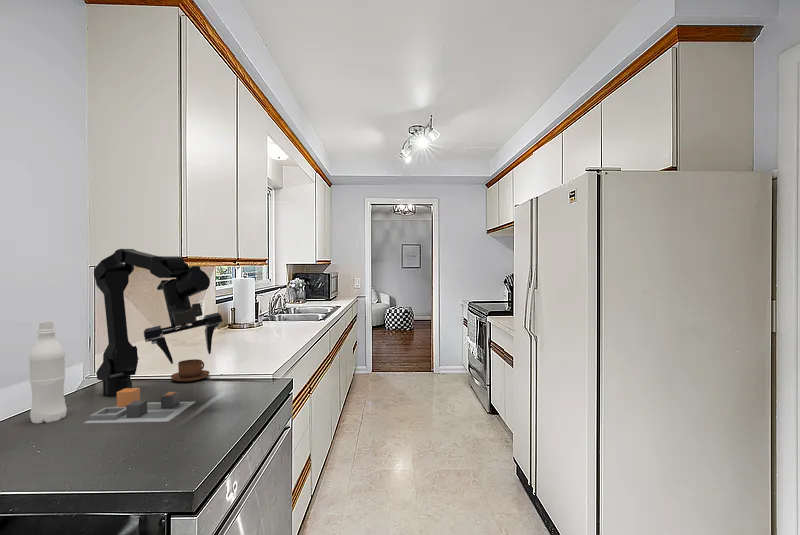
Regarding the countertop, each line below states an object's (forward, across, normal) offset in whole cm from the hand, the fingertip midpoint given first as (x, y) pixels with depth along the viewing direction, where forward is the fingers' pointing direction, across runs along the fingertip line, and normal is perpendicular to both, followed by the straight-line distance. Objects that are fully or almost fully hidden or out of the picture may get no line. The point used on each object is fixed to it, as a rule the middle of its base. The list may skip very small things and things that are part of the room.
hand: (191, 358), depth 125 cm
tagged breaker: (+10, -7, +6) cm, 14 cm away
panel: (+11, -13, +6) cm, 18 cm away
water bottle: (+6, -33, +12) cm, 36 cm away
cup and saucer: (+4, +2, +42) cm, 43 cm away
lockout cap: (+7, -16, +14) cm, 22 cm away
